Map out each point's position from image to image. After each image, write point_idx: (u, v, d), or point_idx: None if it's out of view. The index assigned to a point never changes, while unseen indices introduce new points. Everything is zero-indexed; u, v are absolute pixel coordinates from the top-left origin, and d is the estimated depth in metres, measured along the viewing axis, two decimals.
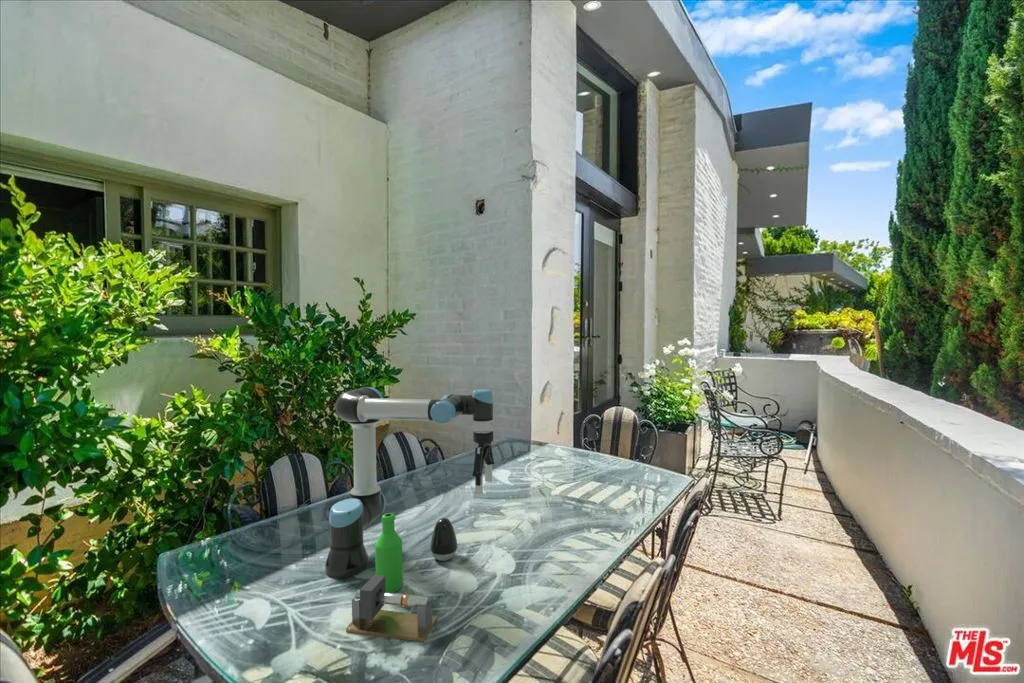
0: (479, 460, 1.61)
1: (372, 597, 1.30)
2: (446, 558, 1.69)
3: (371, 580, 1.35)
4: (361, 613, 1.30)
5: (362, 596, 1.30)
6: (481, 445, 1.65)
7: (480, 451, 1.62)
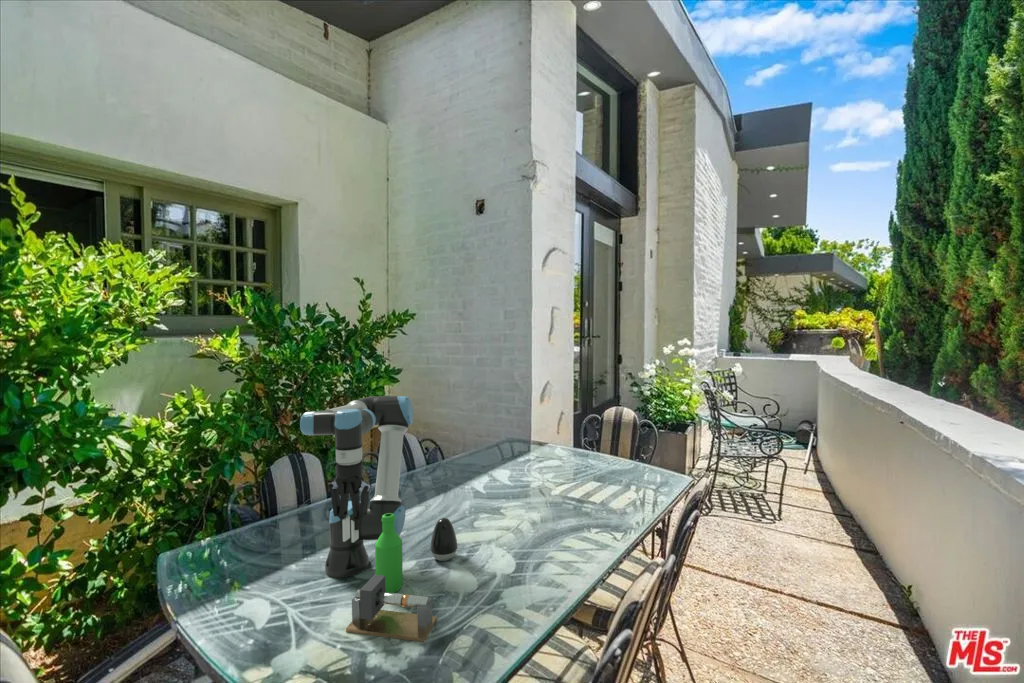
0: None
1: (372, 597, 1.30)
2: (446, 558, 1.69)
3: (371, 580, 1.35)
4: (361, 613, 1.30)
5: (362, 596, 1.30)
6: None
7: None
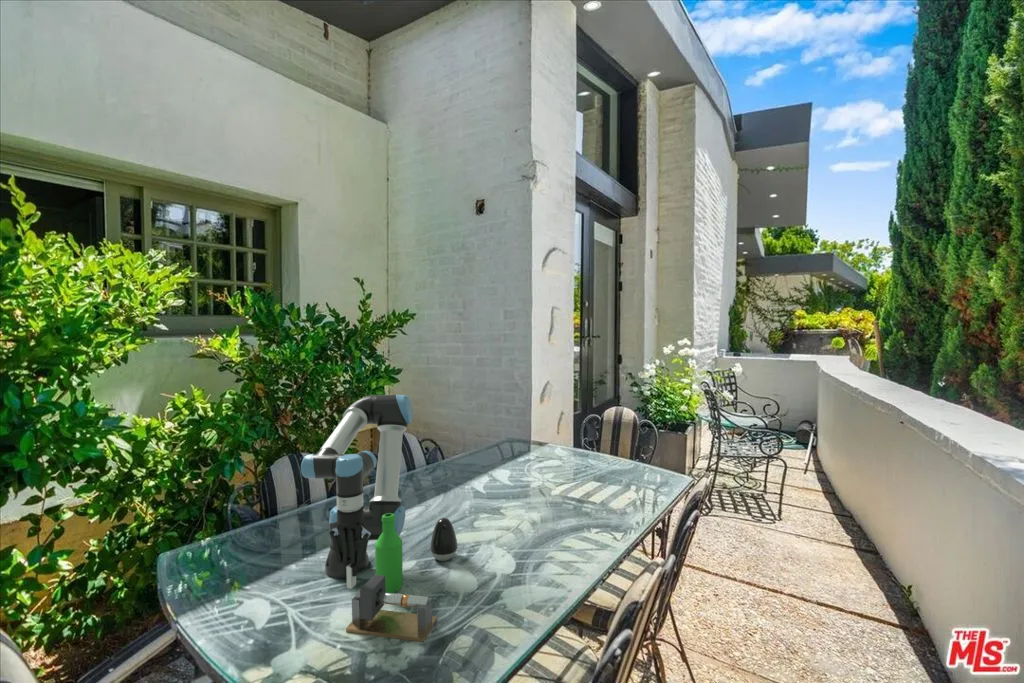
0: None
1: (372, 597, 1.30)
2: (446, 558, 1.69)
3: (371, 580, 1.35)
4: (361, 613, 1.30)
5: (362, 596, 1.30)
6: None
7: None
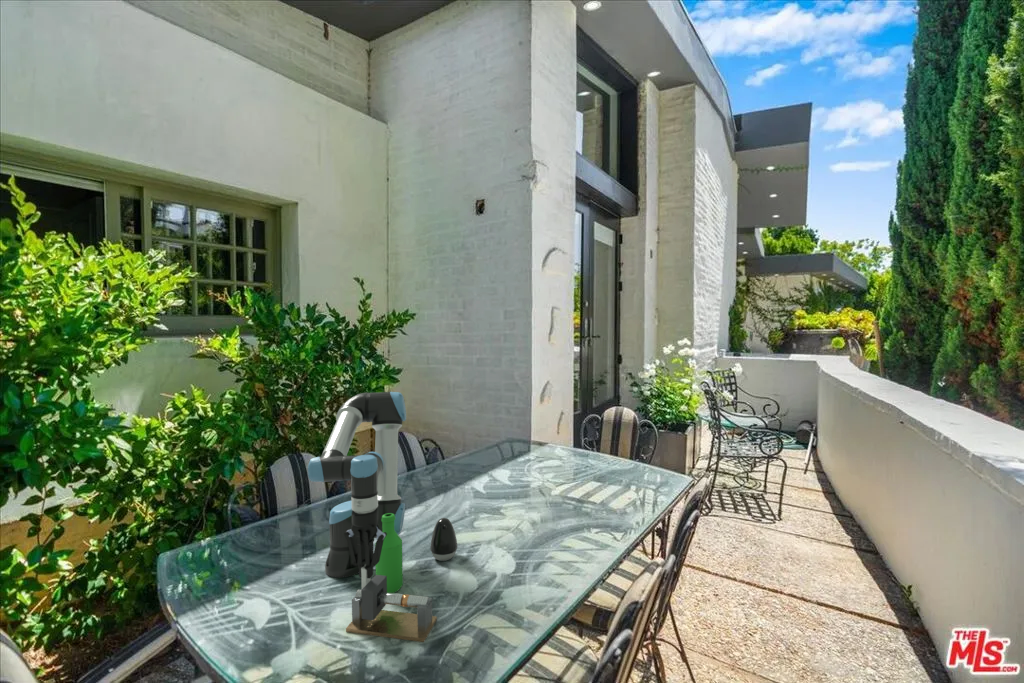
0: None
1: (373, 597, 1.30)
2: (446, 558, 1.69)
3: (372, 580, 1.35)
4: (363, 613, 1.30)
5: (363, 596, 1.30)
6: None
7: None
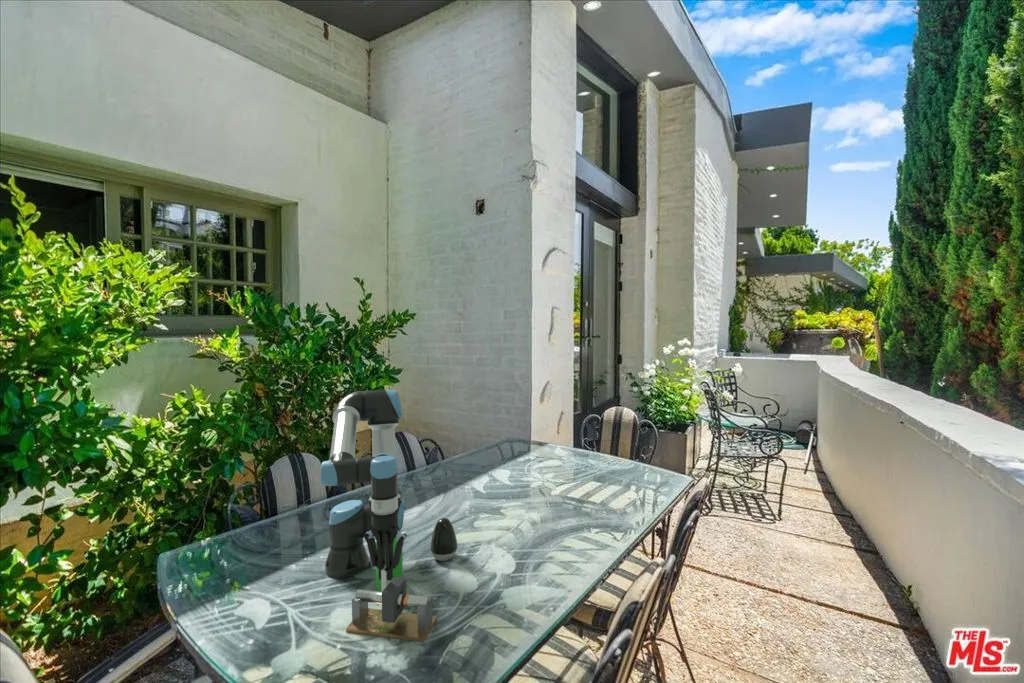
0: None
1: (394, 600, 1.28)
2: (446, 558, 1.69)
3: (392, 582, 1.34)
4: (383, 616, 1.29)
5: (384, 599, 1.29)
6: None
7: None
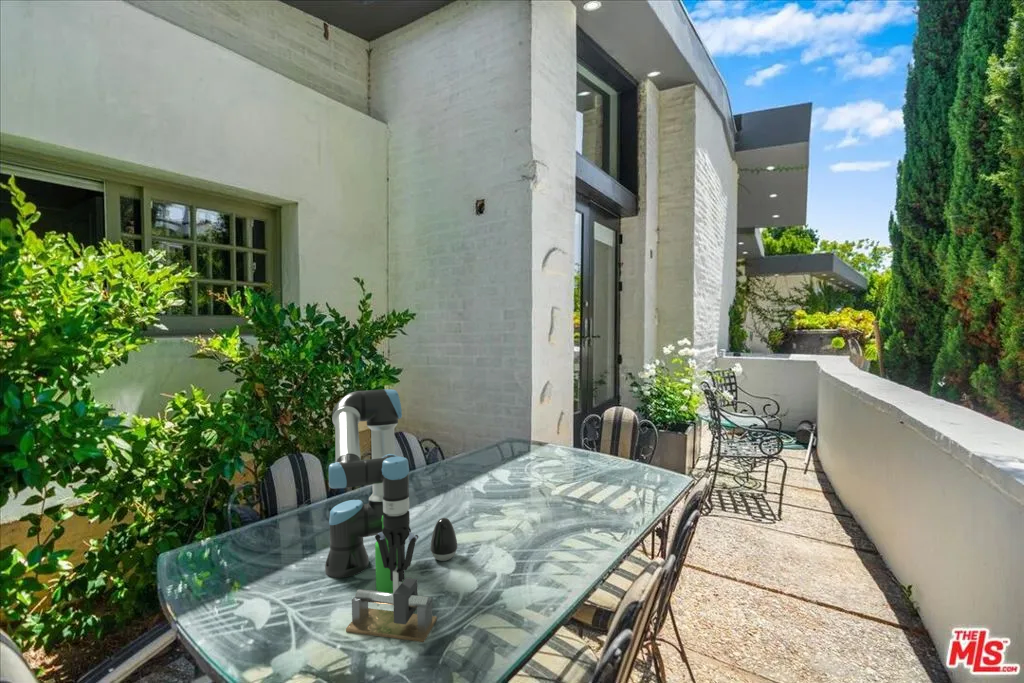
0: None
1: (406, 601, 1.28)
2: (446, 558, 1.69)
3: (403, 584, 1.33)
4: (395, 617, 1.28)
5: (396, 600, 1.28)
6: None
7: None
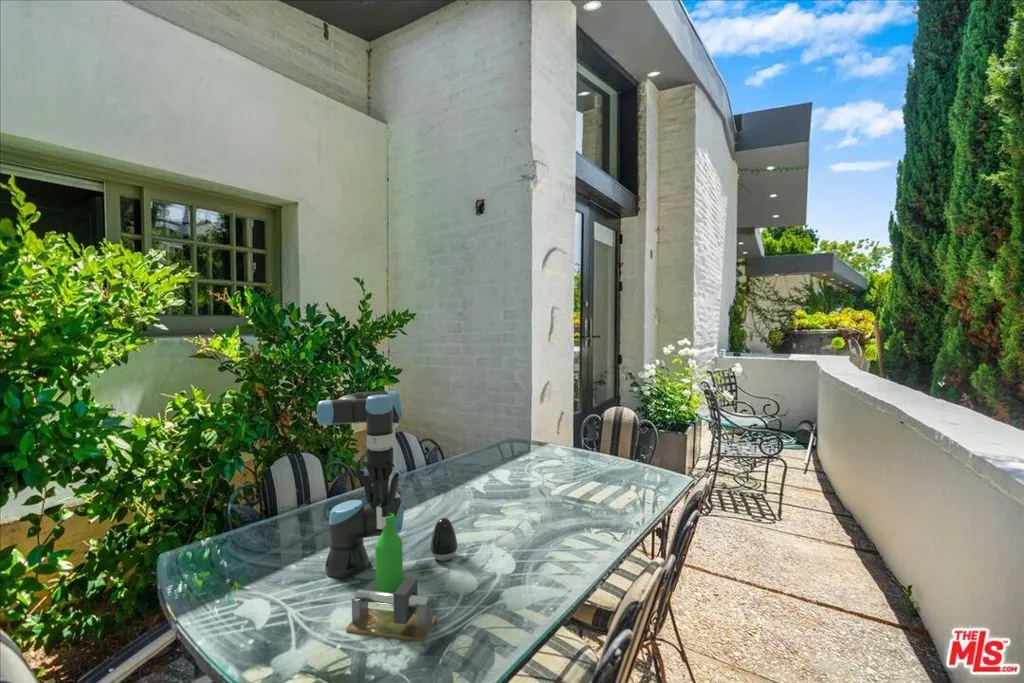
0: None
1: (406, 601, 1.28)
2: (446, 558, 1.69)
3: (404, 584, 1.33)
4: (395, 617, 1.28)
5: (396, 600, 1.28)
6: None
7: None
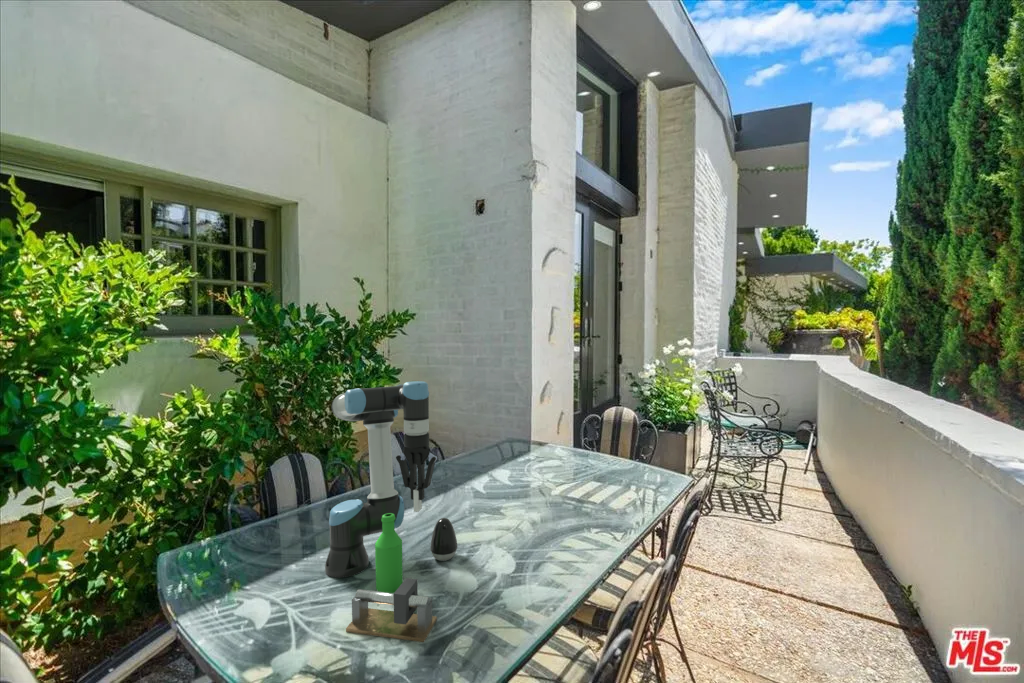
0: None
1: (406, 601, 1.28)
2: (446, 558, 1.69)
3: (404, 584, 1.33)
4: (395, 617, 1.28)
5: (396, 600, 1.28)
6: None
7: None
